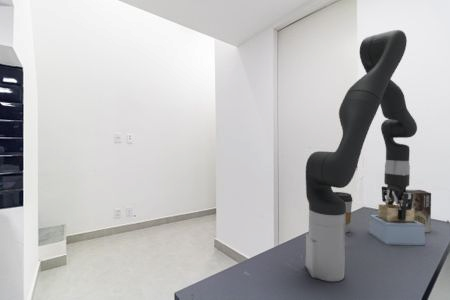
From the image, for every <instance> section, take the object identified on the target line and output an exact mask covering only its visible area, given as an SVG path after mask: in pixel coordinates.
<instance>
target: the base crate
mask: <svg viewBox="0 0 450 300" xmlns="http://www.w3.org/2000/svg"><path fill="white" fill-rule="evenodd" d="M368 233H369V234H370V235H372V236H373V237H374V238H376V239H377V240H379V241H381V242H382V243H384V244H385V245H391V246H393V245H397V246H399V245H402V246H403V245H404V246H426V243H425V241H426V239H425V237H426V232H425V228H424V224H422V223H420V222H417V221H415V220H414V223H390V222H387V221H385V220H383V219H381V218H379V217H378V214H370V215H369V218H368Z"/></svg>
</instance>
